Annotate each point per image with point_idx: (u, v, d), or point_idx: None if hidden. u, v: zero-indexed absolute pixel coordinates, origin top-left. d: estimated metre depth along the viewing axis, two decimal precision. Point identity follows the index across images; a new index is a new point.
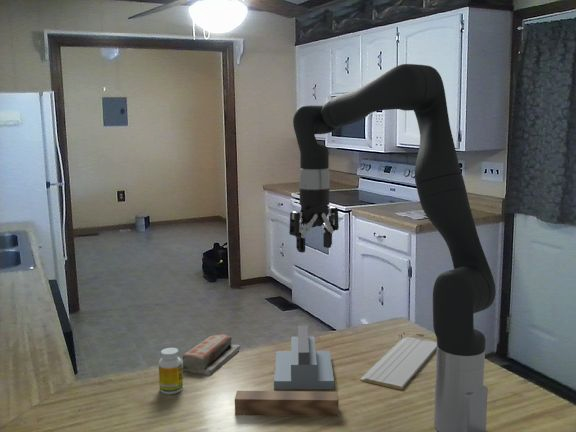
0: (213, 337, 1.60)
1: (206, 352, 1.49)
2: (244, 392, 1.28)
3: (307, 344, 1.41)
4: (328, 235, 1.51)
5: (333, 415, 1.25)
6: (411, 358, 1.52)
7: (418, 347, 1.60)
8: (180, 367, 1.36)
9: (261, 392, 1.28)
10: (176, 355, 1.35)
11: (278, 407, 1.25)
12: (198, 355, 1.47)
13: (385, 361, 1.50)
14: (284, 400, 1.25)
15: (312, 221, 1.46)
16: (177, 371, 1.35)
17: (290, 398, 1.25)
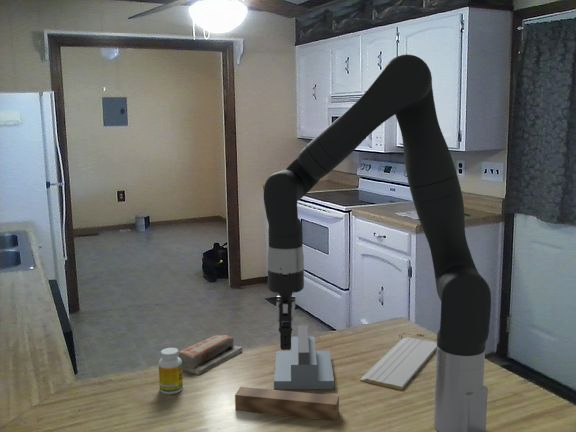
0: (215, 337, 1.60)
1: (199, 351, 1.50)
2: (246, 389, 1.30)
3: (307, 344, 1.41)
4: None
5: (331, 419, 1.23)
6: (411, 358, 1.52)
7: (418, 347, 1.60)
8: (180, 367, 1.36)
9: (263, 390, 1.29)
10: (176, 355, 1.35)
11: (276, 406, 1.25)
12: (190, 354, 1.48)
13: (385, 361, 1.50)
14: (282, 400, 1.25)
15: None
16: (177, 371, 1.35)
17: (288, 399, 1.25)
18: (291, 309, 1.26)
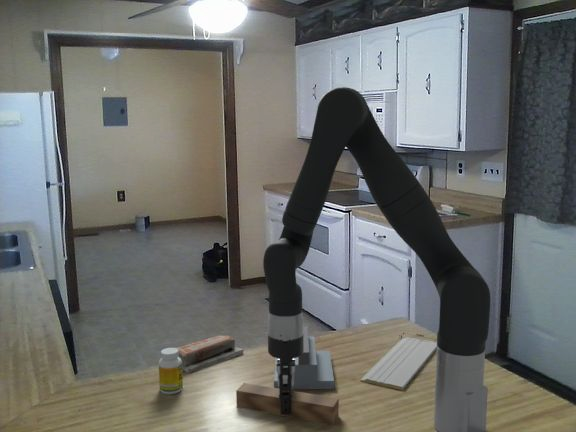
0: (217, 337, 1.60)
1: (193, 350, 1.50)
2: (249, 385, 1.31)
3: (307, 344, 1.41)
4: None
5: (328, 421, 1.22)
6: (411, 358, 1.52)
7: (418, 347, 1.60)
8: (180, 367, 1.36)
9: (265, 388, 1.29)
10: (176, 355, 1.35)
11: (275, 405, 1.25)
12: (183, 352, 1.49)
13: (385, 361, 1.50)
14: None
15: None
16: (177, 371, 1.35)
17: None
18: None
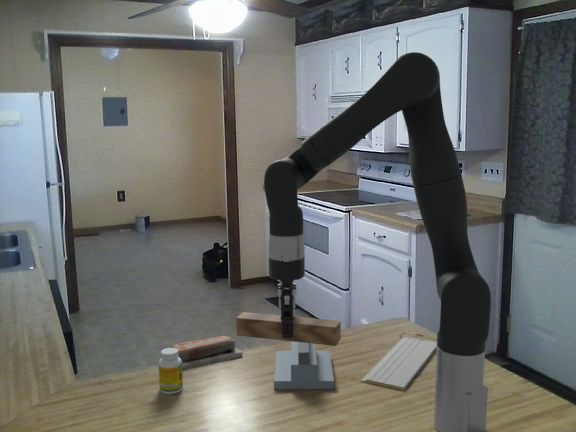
0: (220, 337, 1.60)
1: (188, 348, 1.52)
2: (249, 313, 1.29)
3: (307, 344, 1.41)
4: None
5: (331, 343, 1.21)
6: (411, 358, 1.52)
7: (418, 347, 1.60)
8: (180, 367, 1.36)
9: (265, 315, 1.28)
10: (176, 355, 1.35)
11: (276, 329, 1.24)
12: None
13: (386, 362, 1.50)
14: None
15: None
16: (177, 371, 1.35)
17: None
18: None
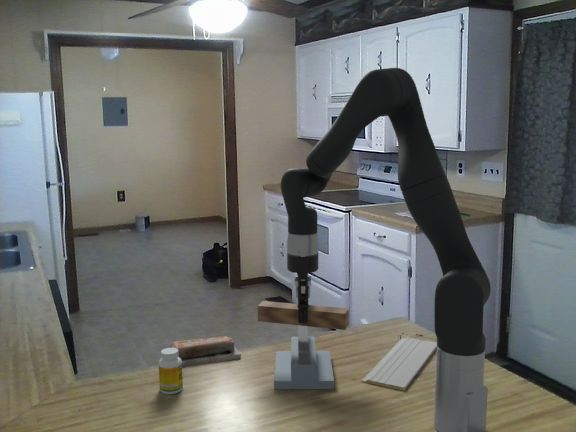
0: (221, 337, 1.59)
1: (185, 346, 1.53)
2: (268, 302, 1.47)
3: (307, 344, 1.41)
4: None
5: (341, 327, 1.39)
6: (411, 359, 1.52)
7: (418, 347, 1.60)
8: (180, 367, 1.36)
9: (282, 303, 1.46)
10: (176, 355, 1.35)
11: (293, 316, 1.42)
12: (175, 346, 1.53)
13: (386, 362, 1.50)
14: None
15: None
16: (177, 371, 1.35)
17: None
18: None
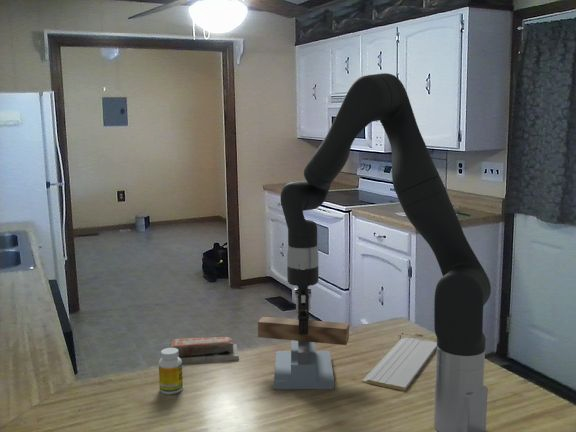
0: (222, 338, 1.59)
1: (184, 344, 1.54)
2: (268, 318, 1.48)
3: (307, 344, 1.41)
4: None
5: (341, 342, 1.40)
6: (411, 359, 1.52)
7: (418, 347, 1.60)
8: (180, 367, 1.36)
9: (282, 319, 1.47)
10: (176, 355, 1.35)
11: (294, 331, 1.43)
12: (174, 344, 1.55)
13: (386, 362, 1.50)
14: None
15: None
16: (177, 371, 1.35)
17: None
18: None
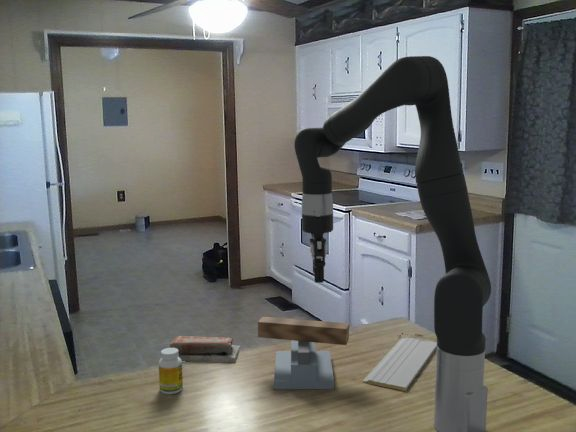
0: (224, 338, 1.59)
1: (183, 342, 1.56)
2: (268, 318, 1.48)
3: (307, 344, 1.41)
4: None
5: (341, 342, 1.40)
6: (412, 359, 1.52)
7: (418, 347, 1.60)
8: (180, 367, 1.36)
9: (282, 319, 1.47)
10: (176, 355, 1.35)
11: (294, 331, 1.43)
12: (174, 341, 1.57)
13: (386, 362, 1.50)
14: (299, 326, 1.42)
15: None
16: (177, 371, 1.35)
17: (304, 325, 1.42)
18: None
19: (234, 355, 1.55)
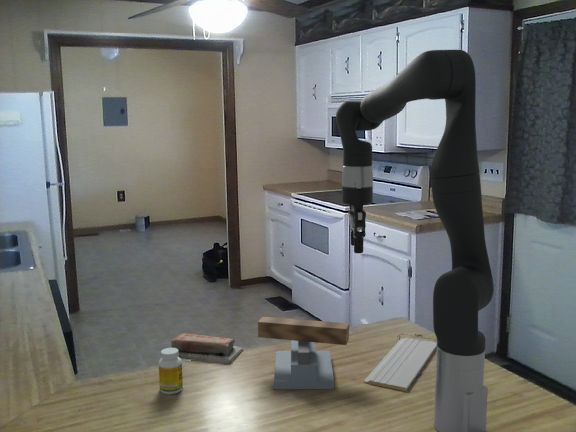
0: (224, 339, 1.58)
1: (184, 339, 1.58)
2: (268, 318, 1.48)
3: (307, 344, 1.41)
4: None
5: (341, 342, 1.40)
6: (412, 359, 1.52)
7: (418, 347, 1.60)
8: (180, 367, 1.36)
9: (282, 319, 1.47)
10: (176, 355, 1.35)
11: (294, 331, 1.43)
12: (176, 338, 1.59)
13: (387, 362, 1.50)
14: (299, 326, 1.42)
15: (349, 217, 1.47)
16: (177, 371, 1.35)
17: (304, 325, 1.42)
18: None
19: (231, 357, 1.54)
